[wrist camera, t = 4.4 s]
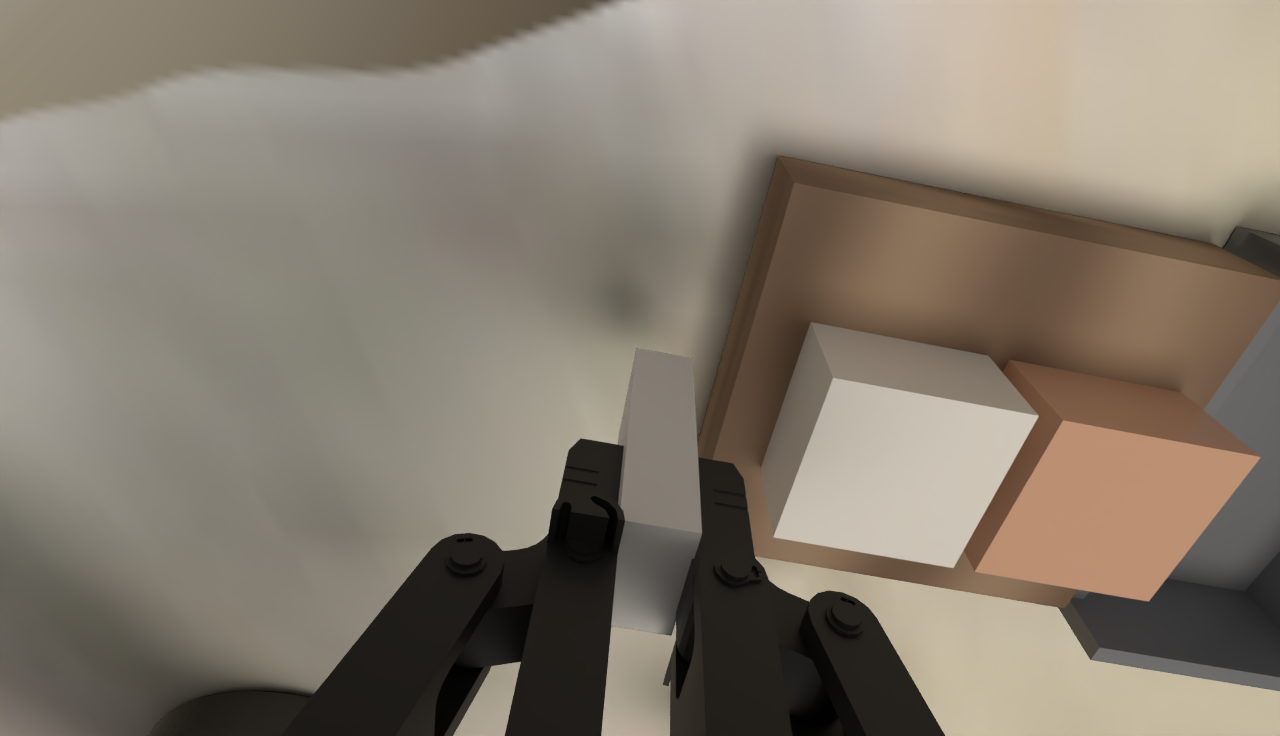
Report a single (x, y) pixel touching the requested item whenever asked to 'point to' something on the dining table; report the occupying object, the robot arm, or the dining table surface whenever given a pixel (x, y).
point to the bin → (1216, 543)
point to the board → (964, 316)
